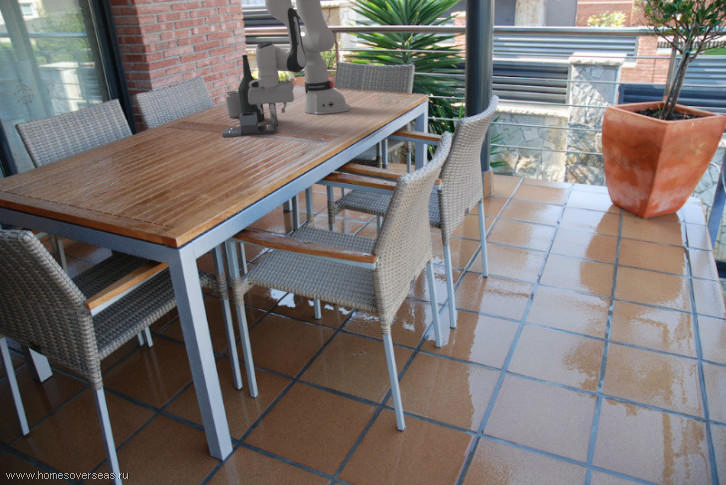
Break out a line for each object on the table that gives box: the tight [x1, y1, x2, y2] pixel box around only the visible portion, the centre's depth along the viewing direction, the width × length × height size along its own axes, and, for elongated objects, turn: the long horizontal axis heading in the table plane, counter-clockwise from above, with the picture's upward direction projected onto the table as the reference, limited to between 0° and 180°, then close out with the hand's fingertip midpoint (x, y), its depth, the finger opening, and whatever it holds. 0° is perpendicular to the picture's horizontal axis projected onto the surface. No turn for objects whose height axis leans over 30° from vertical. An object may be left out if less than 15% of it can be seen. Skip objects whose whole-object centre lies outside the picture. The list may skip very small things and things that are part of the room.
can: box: [224, 90, 242, 119], centre depth 278 cm, size 8×8×12 cm
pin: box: [268, 103, 279, 127], centre depth 256 cm, size 3×3×12 cm
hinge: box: [221, 112, 278, 138], centre depth 249 cm, size 23×10×8 cm, turn 93°
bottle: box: [237, 54, 265, 123], centre depth 264 cm, size 10×10×30 cm
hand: (273, 113), depth 256 cm, fingers open, 8 cm apart
